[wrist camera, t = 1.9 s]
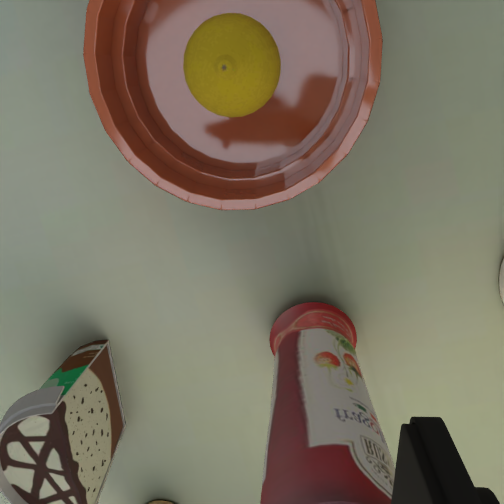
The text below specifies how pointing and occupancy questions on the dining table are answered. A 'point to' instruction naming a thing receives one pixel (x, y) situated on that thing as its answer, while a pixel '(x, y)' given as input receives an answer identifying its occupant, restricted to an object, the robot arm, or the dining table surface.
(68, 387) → the food container
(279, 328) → the liquor
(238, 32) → the lemon
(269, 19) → the fruit bowl
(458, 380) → the dining table surface
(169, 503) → the sprinkles bottle
